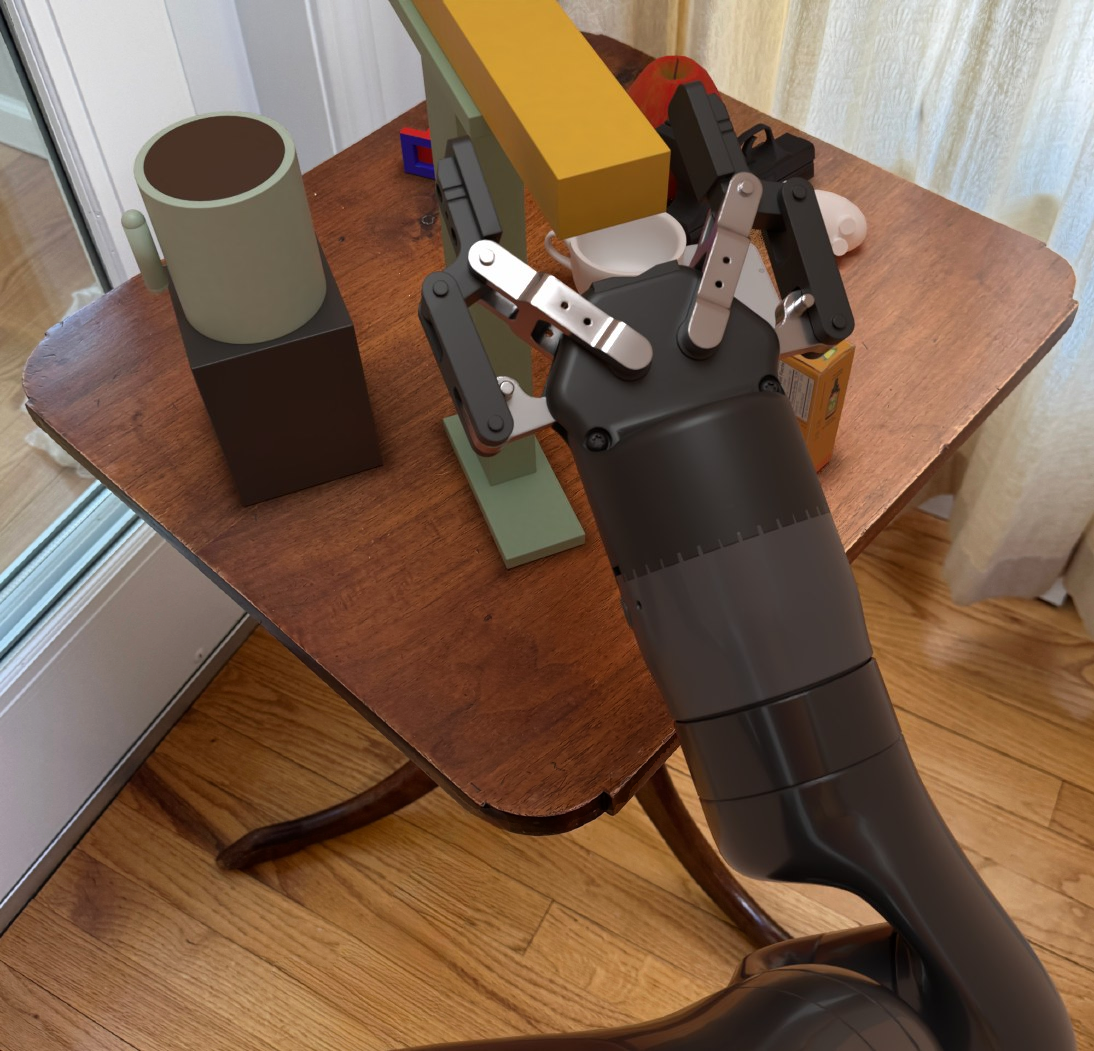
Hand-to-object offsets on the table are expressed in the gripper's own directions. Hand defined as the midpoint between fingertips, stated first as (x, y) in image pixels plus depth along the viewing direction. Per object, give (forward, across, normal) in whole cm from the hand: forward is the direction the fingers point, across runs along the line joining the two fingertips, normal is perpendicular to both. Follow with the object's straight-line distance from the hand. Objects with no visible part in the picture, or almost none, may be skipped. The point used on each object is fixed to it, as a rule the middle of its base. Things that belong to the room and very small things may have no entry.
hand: (570, 119), depth 40 cm
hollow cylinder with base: (0, +12, +37) cm, 39 cm away
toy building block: (+24, -4, +48) cm, 54 cm away
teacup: (+4, -12, +39) cm, 41 cm away
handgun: (+14, -24, +33) cm, 44 cm away
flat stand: (-7, 0, +32) cm, 33 cm away
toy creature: (+4, -27, +35) cm, 45 cm away
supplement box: (-12, -17, +30) cm, 37 cm away
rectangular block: (+4, 0, +4) cm, 5 cm away
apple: (+13, -21, +44) cm, 51 cm away
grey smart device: (+1, -19, +35) cm, 40 cm away
